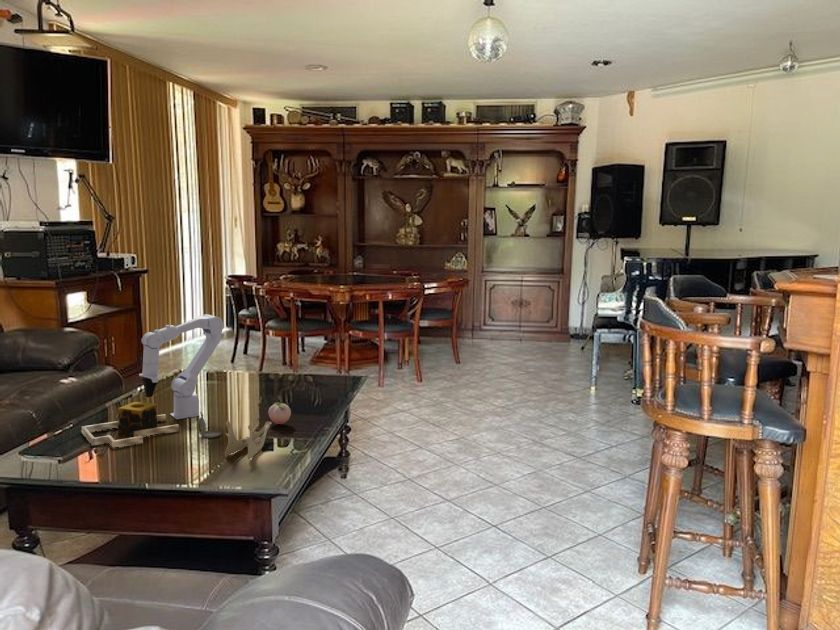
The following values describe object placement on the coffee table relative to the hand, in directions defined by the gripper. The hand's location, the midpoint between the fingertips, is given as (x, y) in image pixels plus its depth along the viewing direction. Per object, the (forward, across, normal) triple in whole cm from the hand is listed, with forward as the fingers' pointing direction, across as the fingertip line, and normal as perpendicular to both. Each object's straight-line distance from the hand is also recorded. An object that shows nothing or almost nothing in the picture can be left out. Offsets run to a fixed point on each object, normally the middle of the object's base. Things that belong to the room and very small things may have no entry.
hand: (149, 396), depth 240 cm
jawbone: (+10, +48, +23) cm, 54 cm away
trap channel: (+11, +9, -8) cm, 16 cm away
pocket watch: (+10, +28, +14) cm, 32 cm away
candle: (+11, +9, -6) cm, 15 cm away
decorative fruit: (+9, +29, +43) cm, 52 cm away
